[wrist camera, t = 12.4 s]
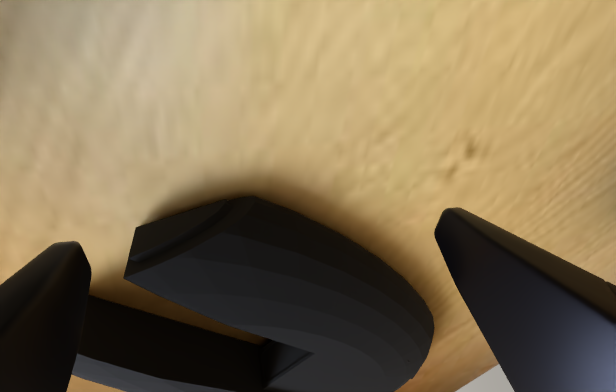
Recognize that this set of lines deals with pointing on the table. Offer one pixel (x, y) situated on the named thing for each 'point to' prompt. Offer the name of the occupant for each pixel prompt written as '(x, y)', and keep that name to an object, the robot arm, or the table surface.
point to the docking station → (257, 309)
